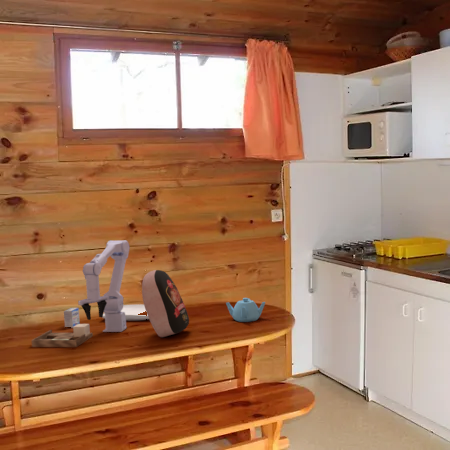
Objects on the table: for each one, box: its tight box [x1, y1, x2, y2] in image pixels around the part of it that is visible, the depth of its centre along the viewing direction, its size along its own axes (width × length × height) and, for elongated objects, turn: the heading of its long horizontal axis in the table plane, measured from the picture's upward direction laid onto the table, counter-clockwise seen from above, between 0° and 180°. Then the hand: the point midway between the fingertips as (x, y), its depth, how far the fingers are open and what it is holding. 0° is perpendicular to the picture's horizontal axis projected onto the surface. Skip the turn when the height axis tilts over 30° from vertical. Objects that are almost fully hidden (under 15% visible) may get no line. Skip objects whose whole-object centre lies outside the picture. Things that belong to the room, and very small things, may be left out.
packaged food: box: [141, 269, 190, 338], centre depth 268 cm, size 22×20×30 cm
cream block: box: [72, 323, 91, 337], centre depth 268 cm, size 6×6×4 cm
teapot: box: [225, 297, 266, 323], centre depth 291 cm, size 15×15×11 cm
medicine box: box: [63, 307, 81, 329], centre depth 294 cm, size 8×4×9 cm, turn 168°
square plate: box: [102, 304, 149, 321], centre depth 311 cm, size 27×27×4 cm
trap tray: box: [31, 329, 94, 348], centre depth 265 cm, size 21×18×3 cm
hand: (94, 318), depth 267 cm, fingers open, 5 cm apart
